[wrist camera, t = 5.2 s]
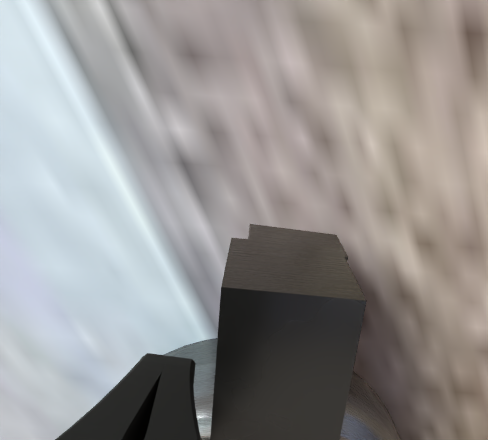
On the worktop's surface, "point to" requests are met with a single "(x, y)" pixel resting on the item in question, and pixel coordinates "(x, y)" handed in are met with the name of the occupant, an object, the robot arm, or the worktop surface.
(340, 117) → the worktop surface
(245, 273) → the lid
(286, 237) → the cooker pot
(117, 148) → the worktop surface
